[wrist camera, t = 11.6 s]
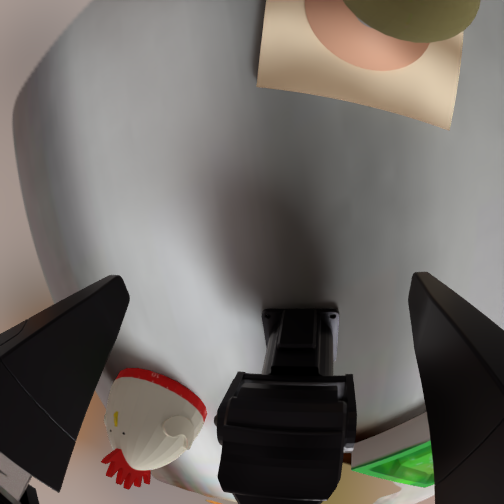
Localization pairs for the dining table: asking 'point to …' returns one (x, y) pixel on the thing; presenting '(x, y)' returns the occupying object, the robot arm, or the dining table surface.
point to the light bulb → (416, 17)
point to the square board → (356, 61)
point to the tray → (398, 454)
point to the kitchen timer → (148, 424)
